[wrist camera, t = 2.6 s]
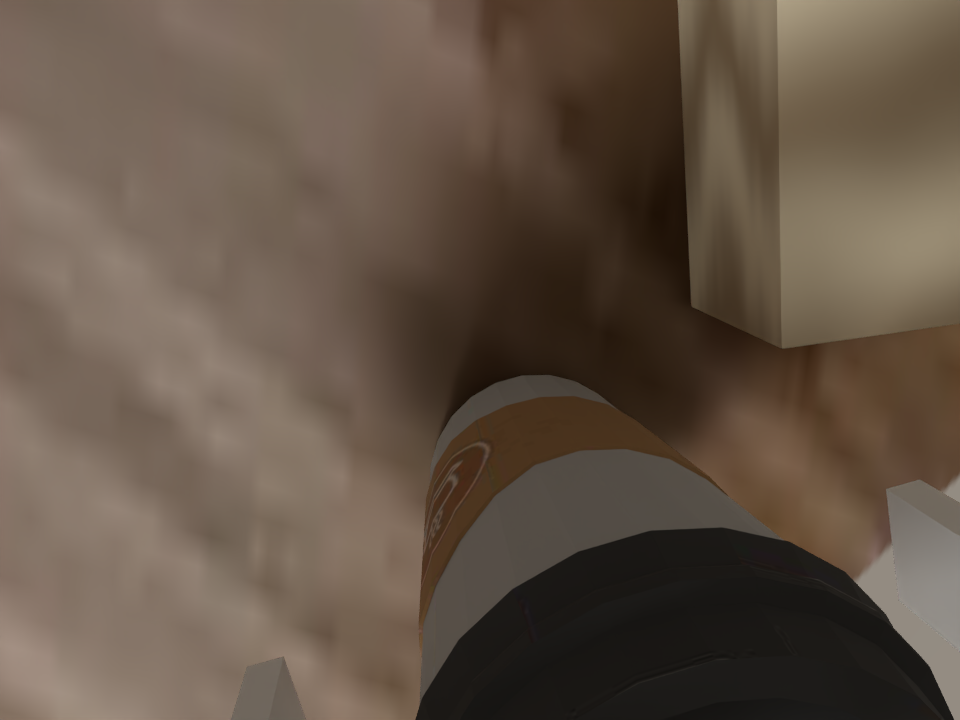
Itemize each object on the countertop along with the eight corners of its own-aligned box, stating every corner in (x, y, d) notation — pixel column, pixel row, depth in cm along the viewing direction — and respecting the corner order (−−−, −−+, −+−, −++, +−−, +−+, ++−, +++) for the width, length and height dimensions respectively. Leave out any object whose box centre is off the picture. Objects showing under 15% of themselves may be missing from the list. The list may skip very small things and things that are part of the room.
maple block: (668, -126, 21) (773, -237, 15) (1075, -162, 22) (1321, -280, 16) (687, 305, 24) (782, 348, 18) (1044, 256, 25) (1241, 283, 19)
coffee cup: (459, 297, 23) (571, 521, 8) (699, 394, 24) (1144, 722, 10) (358, 538, 24) (307, 1080, 10) (591, 614, 26) (840, 1177, 11)
